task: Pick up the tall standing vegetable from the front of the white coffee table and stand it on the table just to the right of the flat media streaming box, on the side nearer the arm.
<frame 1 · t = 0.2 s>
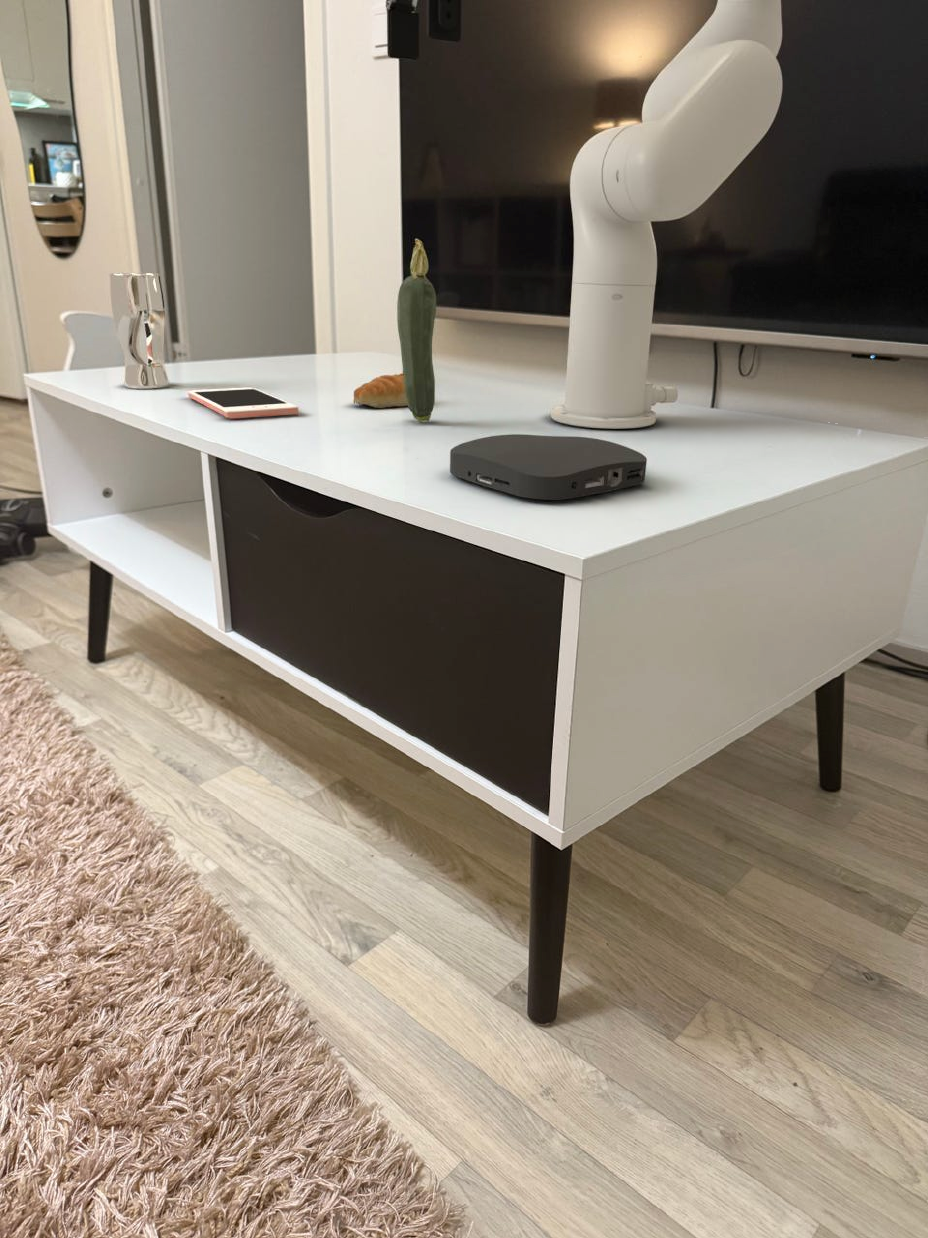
hand: (422, 49, 87), 37 cm above the table, tool pointing down, fingers open, 9 cm apart
media streaming box: (546, 481, 81), on the table
pastry: (389, 405, 119), on the table
cell phone: (241, 407, 114), on the table
vegetable: (416, 424, 106), on the table
silver vase: (147, 387, 129), on the table
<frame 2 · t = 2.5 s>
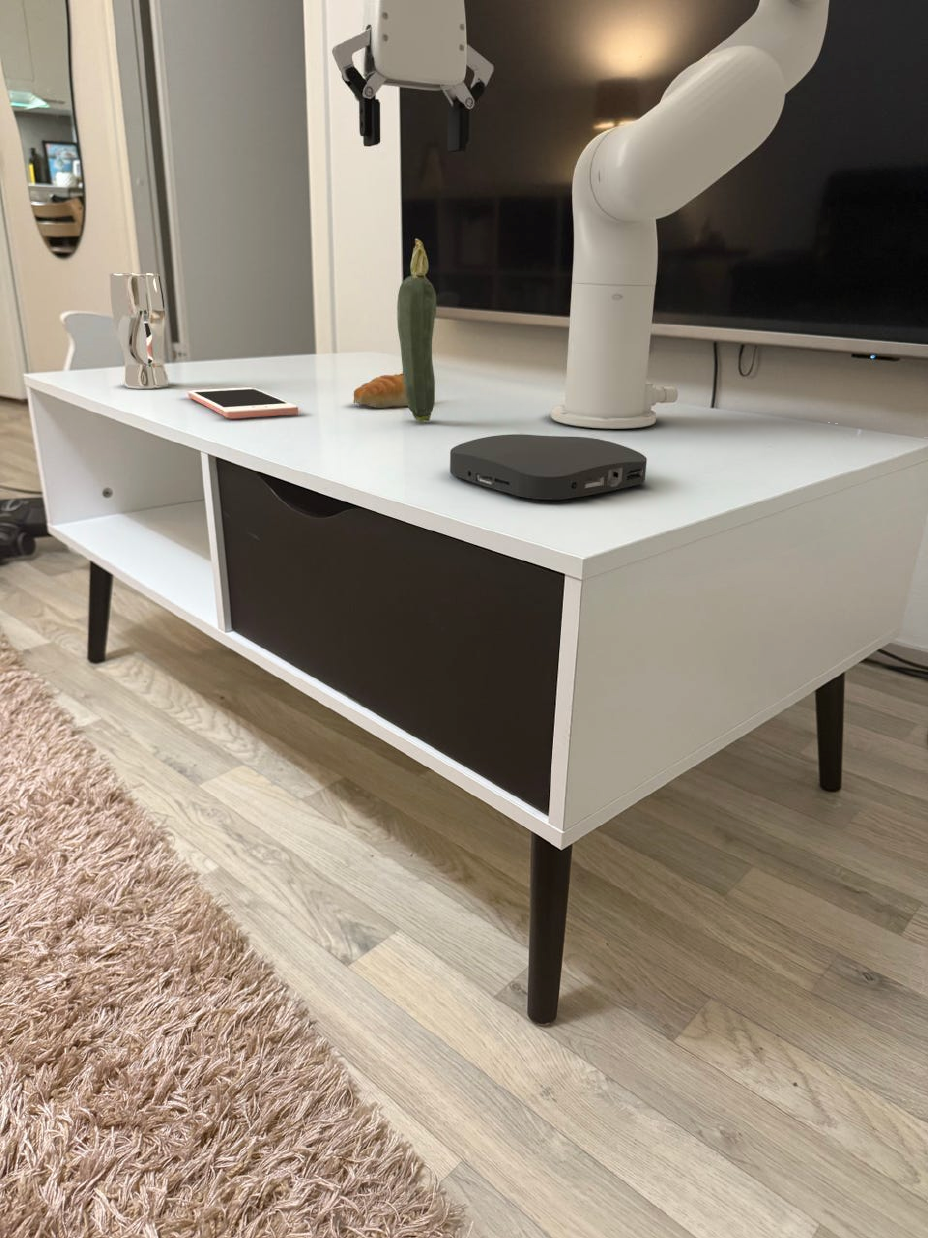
hand: (414, 148, 95), 29 cm above the table, tool pointing down, fingers open, 9 cm apart
nothing on the table moved.
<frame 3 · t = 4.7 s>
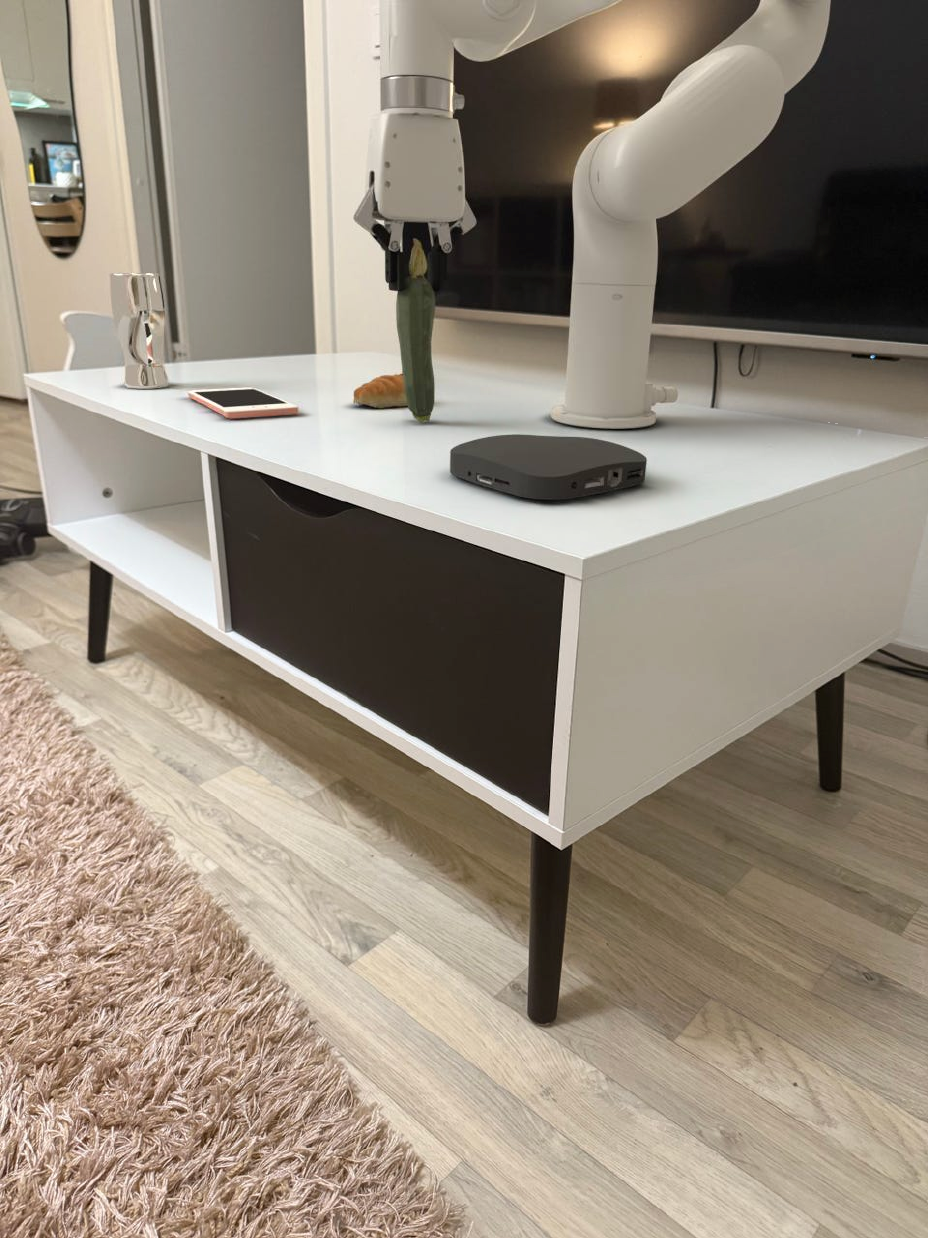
hand: (416, 288, 100), 15 cm above the table, tool pointing down, fingers closed on vegetable, 4 cm apart
vegetable: (416, 424, 106), on the table, touching gripper
everything else where it was.
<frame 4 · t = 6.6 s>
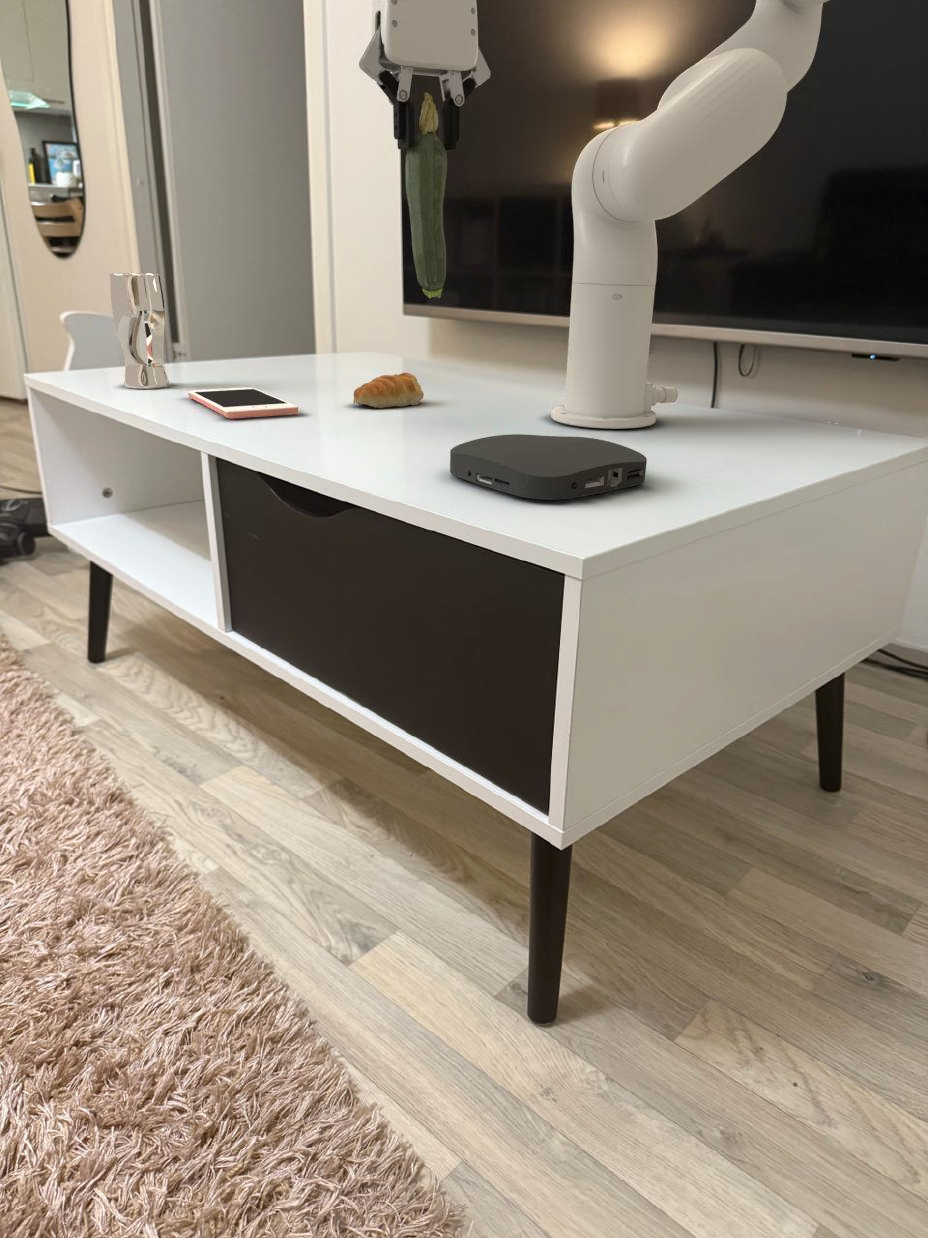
hand: (426, 147, 94), 29 cm above the table, tool pointing down, fingers closed on vegetable, 4 cm apart
vegetable: (427, 300, 100), point 14 cm above the table, touching gripper
everything else where it was.
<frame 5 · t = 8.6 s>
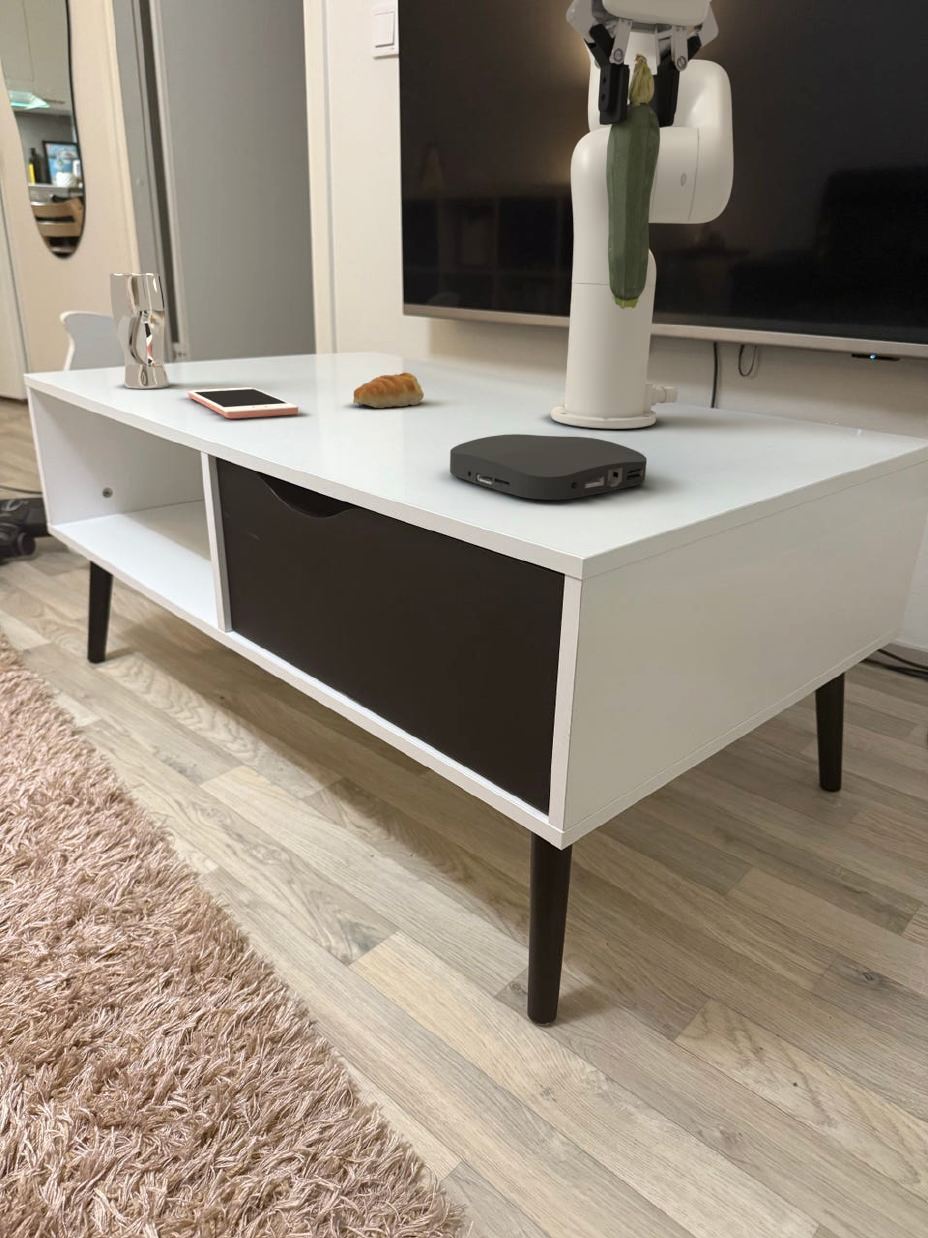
hand: (636, 122, 76), 29 cm above the table, tool pointing down, fingers closed on vegetable, 4 cm apart
vegetable: (619, 311, 81), point 14 cm above the table, touching gripper
everything else where it was.
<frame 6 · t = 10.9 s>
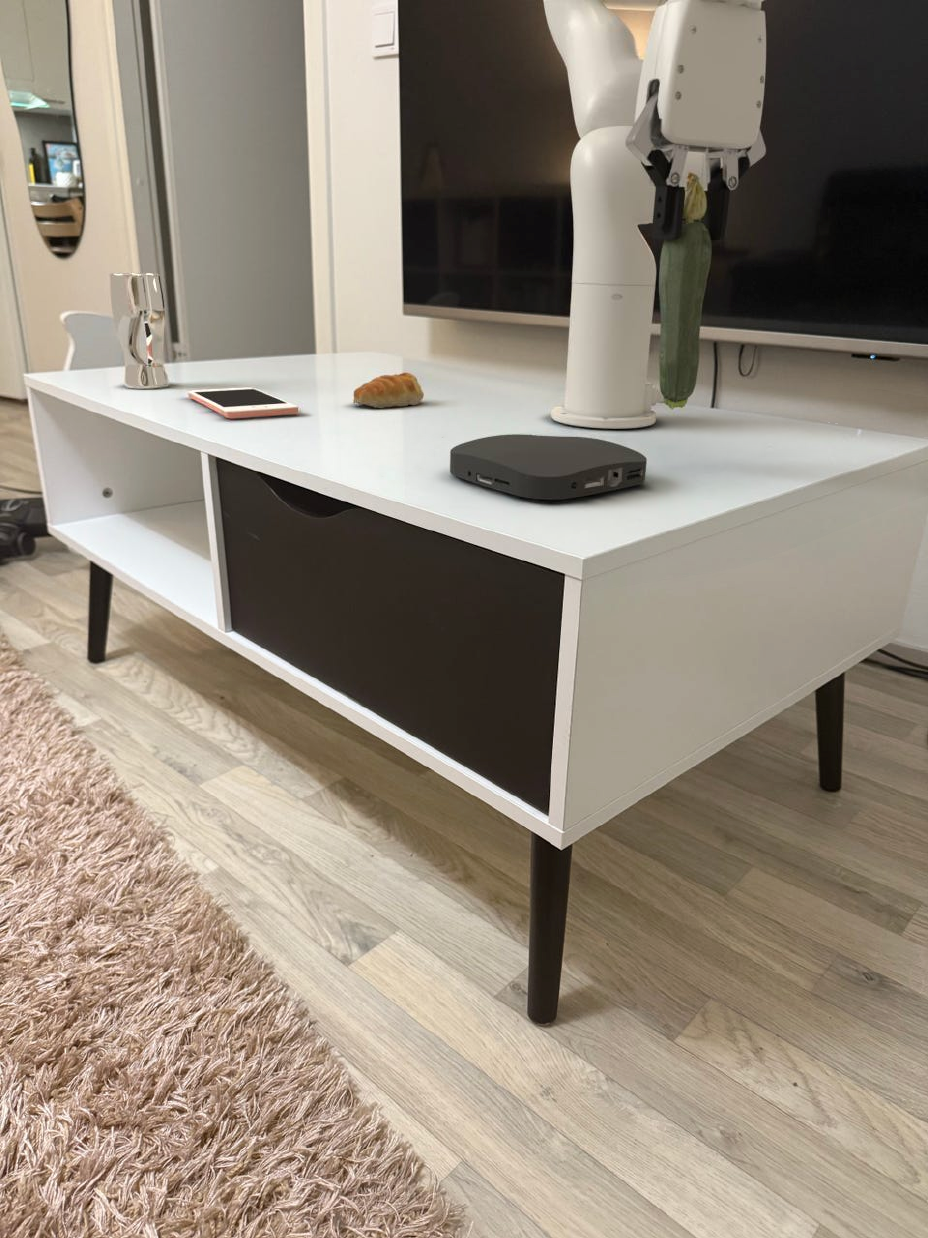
hand: (688, 237, 79), 20 cm above the table, tool pointing down, fingers closed on vegetable, 4 cm apart
vegetable: (669, 412, 84), point 5 cm above the table, touching gripper
everything else where it was.
when the fingers open (15 cm above the table, at t = 12.6 s): vegetable stays where it is, on the table.
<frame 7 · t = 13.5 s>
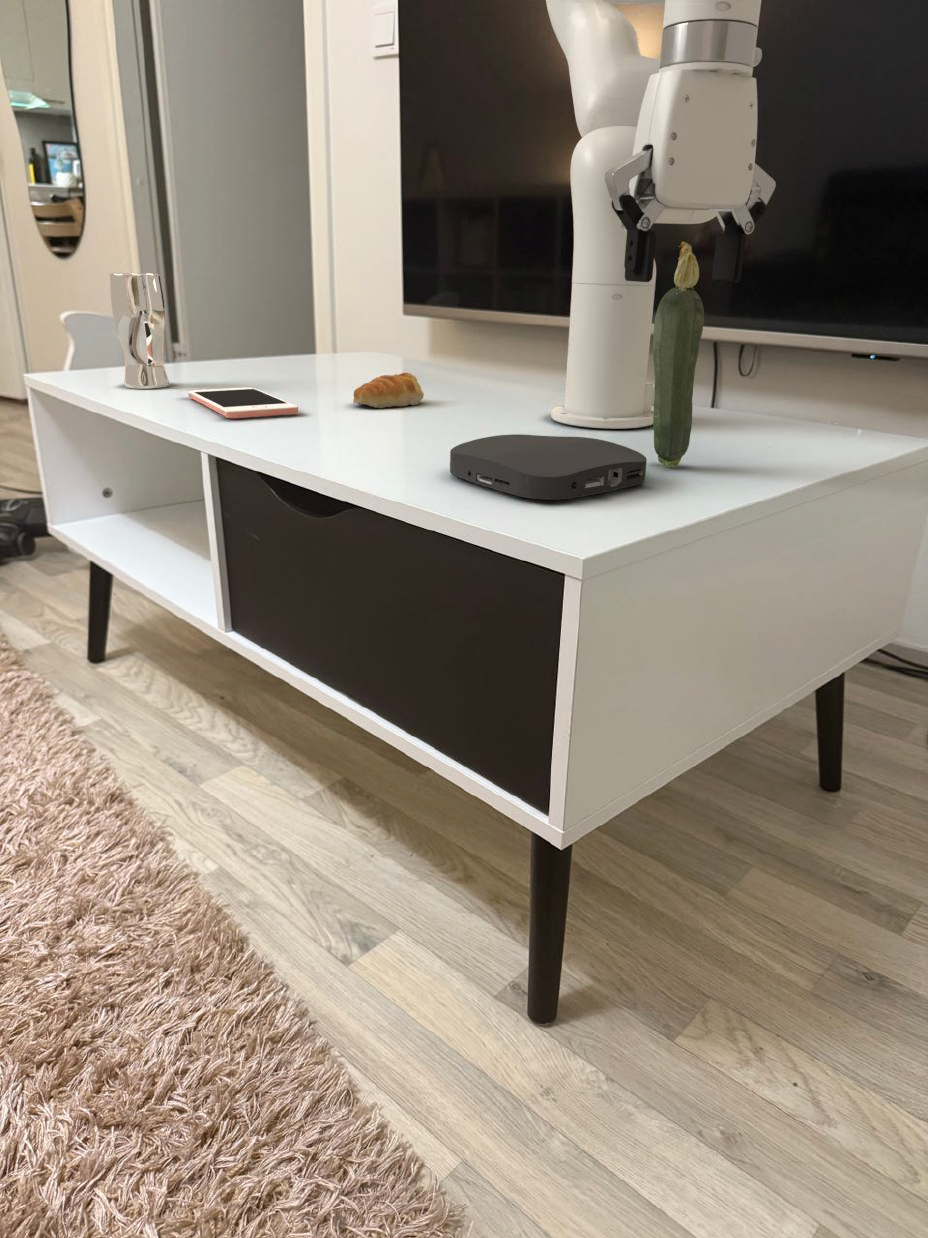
hand: (682, 281, 80), 17 cm above the table, tool pointing down, fingers open, 9 cm apart
vegetable: (663, 470, 86), on the table
everything else where it was.
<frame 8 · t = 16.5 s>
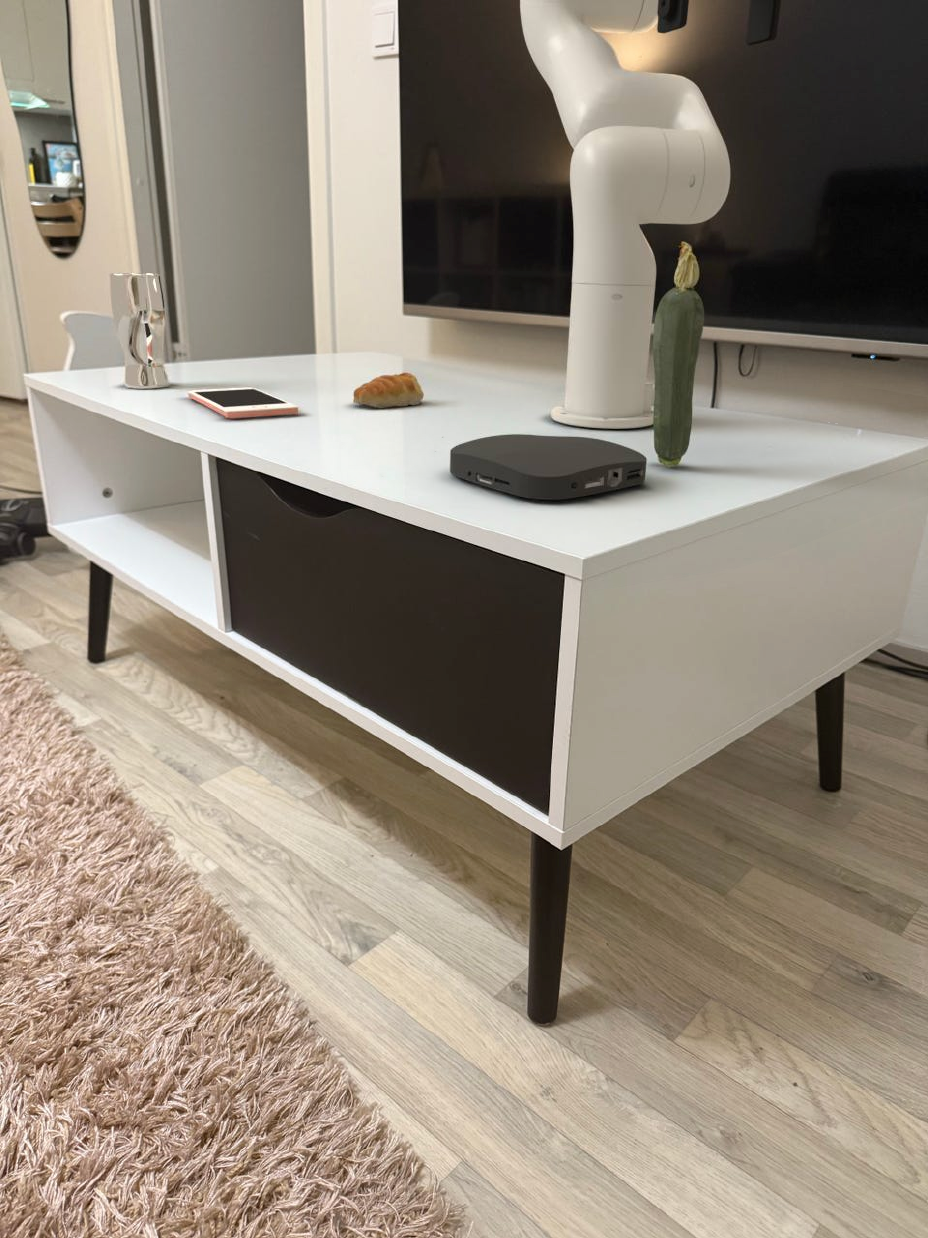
hand: (716, 36, 78), 36 cm above the table, tool pointing down, fingers open, 9 cm apart
nothing on the table moved.
at the end: vegetable inside the target area on the table beside the media streaming box (0.5 cm from its centre), on the table; the gripper is holding nothing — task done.
